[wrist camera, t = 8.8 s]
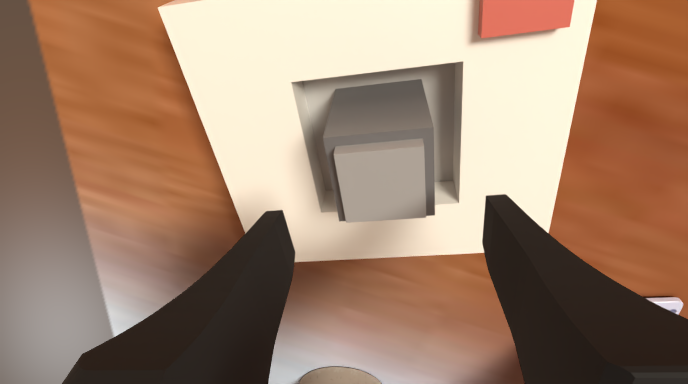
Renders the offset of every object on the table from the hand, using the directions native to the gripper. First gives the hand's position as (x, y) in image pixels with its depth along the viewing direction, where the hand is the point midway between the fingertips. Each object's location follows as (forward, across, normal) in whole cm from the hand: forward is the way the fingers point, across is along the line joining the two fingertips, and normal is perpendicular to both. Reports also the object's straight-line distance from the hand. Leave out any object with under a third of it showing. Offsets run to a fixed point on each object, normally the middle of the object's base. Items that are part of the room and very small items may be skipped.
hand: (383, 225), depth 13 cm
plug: (+8, 0, 0) cm, 8 cm away
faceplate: (+8, 0, 0) cm, 8 cm away
